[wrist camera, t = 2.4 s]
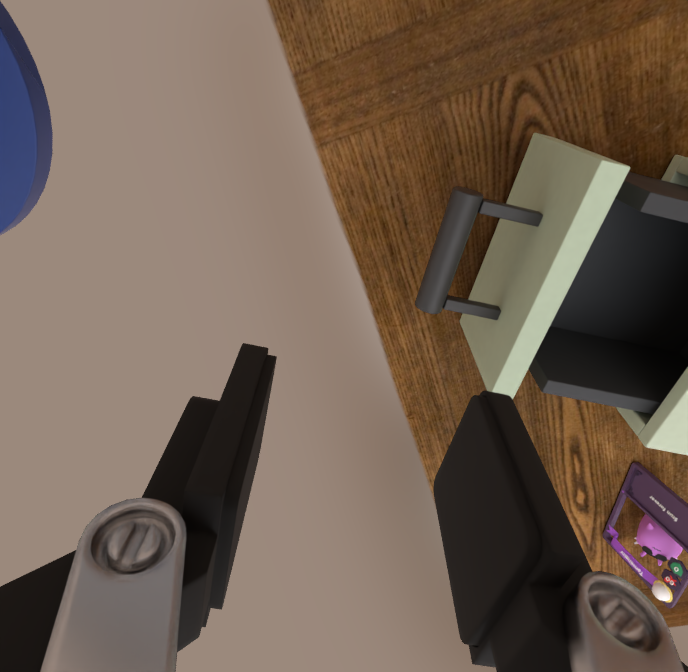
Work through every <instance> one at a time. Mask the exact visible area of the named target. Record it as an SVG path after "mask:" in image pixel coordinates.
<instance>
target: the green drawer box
mask: <svg viewBox="0 0 688 672" xmlns="http://www.w3.org/2000/svg"><path fill="white" fill-rule="evenodd" d="M661 180H663V181H667V182H671V183H675V184H679V185H683V186H687V187H688V157H684V156H680V155H674V157H673V159H672V161H671V163H670V165H669V166H668V168H667V170H666V172H665V174H664V176H663V177H662V179H661ZM616 408H617V410H618V411H619V412H620V414H621V415H622V416H623V418H624V419H625V420H626V422H627V423H628V424H629V426H630V427H631V428H632V430H633V431H634V432H635V434H636V435H637V436H638V438H639V439H640V441H641V442H642V443H643V444H644V446H645V447H647V448H653V449H658V450H663V451H668V452H674V453H679V454H684V455H688V367H687V369H686V370H685V371H684V373H683V374H682V375H681V377H680V378H679V380H678V381H677V382H676V384H675V385H674V387H673V388H672V389H671V391H670V392H669V394H668V395H667V396H666V398H665V399H664V401H663V402H662V403H661V405H660V406H659V408H658V409H657V410H656V412H655V413H654V414H649V413H644V412H639V411H634V410H629V409H624V408H619V407H616Z"/></svg>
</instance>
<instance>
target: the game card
mask: <svg viewBox="0 0 688 672" xmlns="http://www.w3.org/2000/svg"><path fill="white" fill-rule="evenodd" d="M626 497H629V498H630V499H631V500H632V501H633V502H634V503H635V504H636V505H637V506H638V507H639V508H640V509H641V510H642V511H644V512H645V513H646V514H645V515H644V516H643V518H642V520H641V522H640V524H639V527H638V531H637V537H636V538H634V539H637V541H636V542H635V543H634V544H640V545H641V546H642V549H643V551H642V553H641V554H640V556H644V555H646V554H649V555H650V556H652V557H654V558H656V559H658V565H659V566H661V564H662V561H667V559H669V562H668V566H669V568H670V569H671V571H672V572H671V571H669V570H667V569H664V571H663V573H662V575H661V576H662V578H663V580H664V582H665V583H666V584H665V583H664V582H662V581H660V580H658V579H657V578H656V577H655V576H653V575H652V574H651V573H650V572H649V571H647V570H646V569H645V568H644V567H643V566H642V565H641V564H640V563H639V562H638V561H637V560H636V559H635V558H634V557H633V556H632V555H631V554H630V553H629V552H628V551H627V550H626V549H625V548H624V547H623V546H622V545H621V544H620V543H619V542H618V541H617V537H618V533H617V532H616V531H615V530H614V529H613V528H614V525H615V523H616V521H617V518H618V516H619V514H620V511H621V509H622V507H623V504H624V502H625V500H626ZM610 535H612V536H613V538H612V537H611V536H610ZM603 538H604V539H605V540H606V541H607V543H608V544H609V545H610V546H611V547H612V548H613V549H614V550H615V551H616V552H617V553H618V554H619V555H620V557H621V558H622V559H623V560H624V561H625V562H626V563H627V564H628V565H629V566H630V567H631V568H632V570H633V571H634V572H635V573H636V574H637V575H638V576H639V577H640V578H641V579H642V580H643V581H644V582H645V584H646V585H647V586H648V587H649V588H650V589H651V590H652V592H653V594H654V595H655V597H656V598H658V599H659V600H661V601H662V602H663V603H664V604H665V605H666V606H667V607H668V608H672V607H674V606H675V605H676V603H677V601H678V600H679V598H680V596H681V595H682V593H683V591H684V590H685V588H686V586H687V585H688V570H686V568H685V566H684V564H683V563H682V561H680V560H677V557H678V555H679V554H680V553H681V552H682V549H684V550H685V551H686V552H687V553H688V504H687V503H686V502H685V501H684V500H683V499H682V498H680V497H679V495H677V494H676V493H674V492H673V491H672V490H671V489H670V488H668V487H667V486H666V485H665V484H664V483H662V482H661V481H660V480H659V479H658V478H657V477H655V476H654V475H653V474H652V473H651V472H649V471H648V470H647V469H646V468H645V467H643V466H642V465H641V464H640V463H639V462H635V463H632V465H631V467H630V470H629V472H628V475H627V477H626V480H625V482H624V484H623V487H622V489H621V492H620V494H619V496H618V499H617V501H616V504H615V506H614V509H613V511H612V513H611V516H610V518H609V521H608V523H607V525H606V528H605V530H604V533H603ZM677 577H679V578H681V579H682V581H681V582H680V581H679V579H678V578H677ZM669 588H671V589H673V590H675V592H674V594H673V596H672V591H671V590H670V589H669Z"/></svg>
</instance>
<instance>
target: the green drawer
mask: <svg viewBox="0 0 688 672" xmlns="http://www.w3.org/2000/svg"><path fill="white" fill-rule="evenodd" d="M629 170H630V166H628V165H625V164H622V163H620V162H617V161H615V160H612V159H609V158H607V157H604V156H601V155H599V154H596V153H594V152H591V151H588V150H586V149H583V148H581V147H578V146H575V145H573V144H570V143H568V142H565V141H562V140H560V139H557V138H554V137H550V136H546V135H542V134H539V133H534V134H533V136H532V139H531V141H530V144H529V146H528V149H527V151H526V154H525V156H524V159H523V161H522V164H521V167H520V169H519V172H518V174H517V177H516V179H515V182H514V184H513V187H512V189H511V192H510V194H509V197H508V199H507V202H506V203H502V202H497V201H493V200H489V199H485V198H483V194H481V193H480V192H477V191H475V190H472V189H469V188H465V187H459V186H456V187H454V188H453V190H452V193H451V196H450V199H449V202H448V205H447V208H446V211H445V214H444V217H443V220H442V223H441V226H440V229H439V232H438V235H437V238H436V241H435V244H434V247H433V250H432V253H431V256H430V259H429V262H428V265H427V268H426V271H425V274H424V277H423V280H422V283H421V286H420V289H419V292H418V295H417V298H416V301H415V305H416V307H417V308H418V309H420V310H422V311H424V312H427V313H431V314H438V313H440V312H441V311H442V308H443V309H445V310H450V311H455V312H460V313H463V314H462V316H461V319H460V324H461V326H462V329H463V331H464V334H465V336H466V339H467V341H468V344H469V346H470V349H471V351H472V354H473V356H474V359H475V361H476V364H477V366H478V369H479V371H480V374H481V376H482V379H483V381H484V384H485V386H486V389H487V391H490V392H495V393H500V394H505V395H509V396H510V397H511V398H512V400H513V398H514V396H515V394H516V392H517V390H518V388H519V386H520V384H521V382H522V380H523V378H524V376H525V374H526V372H527V370H528V369H529V370H530V372H531V374H532V376H533V377H534V379H535V381H536V383H537V384H538V386H539V388H540V390H541V392H543V393H548V394H553V395H558V396H563V397H568V398H573V399H578V400H583V401H588V402H594V403H599V404H604V405H609V406H614V407H619V408H624V409H629V410H634V411H639V412H644V413H649V414H654V413H655V412H656V410H657V409H658V408H659V406H660V405H661V403H662V402H663V401H664V399H665V398H666V396H667V395H668V394H669V392H670V391H671V389H672V388H673V387H674V385H675V384H676V382H677V381H678V380H679V378H680V377H681V375H682V374H683V373H684V371H685V370H686V369H687V367H688V187H687V186H683V185H679V184H675V183H671V182H667V181H663V180H659V179H655V178H651V177H647V176H643V175H639V174H635V173H631V172H629ZM478 212H479V213H480V214H484V215H488V216H493V217H497V218H500V220H499V222H498V225H497V227H496V230H495V232H494V235H493V238H492V240H491V243H490V245H489V248H488V250H487V253H486V255H485V258H484V260H483V263H482V265H481V268H480V270H479V273H478V276H477V278H476V281H475V283H474V286H473V288H472V291H471V293H470V296H469V298H468V299H463V298H459V297H454V296H449V295H447V294H448V292H449V289H450V286H451V284H452V281H453V278H454V275H455V273H456V270H457V267H458V265H459V262H460V259H461V256H462V254H463V251H464V248H465V245H466V243H467V240H468V237H469V235H470V232H471V229H472V226H473V224H474V221H475V218H476V216H477V213H478Z"/></svg>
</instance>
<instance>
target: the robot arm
mask: <svg viewBox="0 0 688 672" xmlns="http://www.w3.org/2000/svg"><path fill="white" fill-rule="evenodd" d="M275 364H276V356H271V355H268V348H265V347H260V346H255V345H250V344H244V343H243V344H242V346H241V349H240V351H239V354H238V357H237V359H236V361H235V364H234V366H233V369H232V372H231V374H230V377H229V379H228V382H227V384H226V387H225V389H224V392H223V394H222V397H221V399H220V401H217V400H212V399H206V398H201V397H195V396H193V397H192V398H191V399H190V400H189V402H188V404H187V406H186V408H185V410H184V412H183V414H182V416H181V418H180V421H179V422H178V425H177V427H176V429H175V431H174V433H173V435H172V437H171V439H170V441H169V443H168V445H167V447H166V449H165V451H164V453H163V455H162V457H161V459H160V461H159V464H158V465H157V467H156V470H155V472H154V474H153V476H152V478H151V480H150V482H149V484H148V486H147V488H146V490H145V492H144V494H143V496H142V498H136V499H130V500H125V501H122V502H119V503H117V504H114V505H111V506H109V507H108V508H107V509H105V510H103V511H102V512H100V513H99V514H97V515H96V516H95V517H94V519H93V520H92V521H91V522H90V523H89V524H88V525H87V526H86V528H85V530H84V532H83V534H82V536H81V538H80V540H79V543H78V546H77V550H75V551H73V552H71V553H69V554H67V555H65V556H63V557H61V558H59V559H57V560H55V561H53V562H51V563H48V564H46V565H44V566H42V567H40V568H38V569H36V570H34V571H32V572H30V573H28V574H26V575H24V576H22V577H20V578H17V579H15V580H13V581H11V582H9V583H7V584H5V585H3V586H1V587H0V672H175V671H176V659H177V652H178V651H180V650H181V649H183V648H184V647H185V646H187V645H188V644H190V643H191V642H192V641H194V640H195V639H197V638H198V637H199V635H200V631H201V628H202V627H206V623H207V619H208V616H209V612H210V608H215V609H222V607H223V603H224V598H225V595H226V591H227V586H228V582H229V578H230V574H231V570H232V566H233V562H234V557H235V553H236V549H237V545H238V541H239V536H240V533H241V528H242V524H243V520H244V516H245V512H246V508H247V504H248V500H249V495H250V491H251V486H252V483H253V479H254V475H255V471H256V466H257V462H258V458H259V453H260V448H261V443H262V437H263V431H264V425H265V420H266V414H267V409H268V403H269V398H270V391H271V386H272V381H273V375H274V369H275ZM434 498H435V503H436V509H437V514H438V519H439V525H440V530H441V536H442V541H443V547H444V552H445V558H446V562H447V568H448V574H449V579H450V585H451V590H452V596H453V601H454V607H455V612H456V617H457V623H458V628H459V634H460V638H461V640H462V642H463V643H464V644H468V645H469V649H470V653H471V659H472V664H475V665H483V666H490V667H496V670H497V672H688V666H686V665H685V664H684V663H683V662H681V661H680V658H679V655H678V653H677V650H676V647H675V644H674V641H673V639H672V636H671V633H670V630H669V628H668V626H667V624H666V622H665V620H664V618H663V616H662V615H661V613H660V612H659V611H658V609H657V608H656V607H655V605H654V604H653V603H652V602H651V601H650V600H649V599H648V598H647V597H646V596H645V595H644V594H643V593H642V592H641V591H640V590H639V589H638V588H636V587H635V586H633V585H632V584H630V583H629V582H628V581H626V580H624V579H622V578H620V577H618V576H616V575H614V574H611V573H606V572H602V571H596V572H592V570H591V567H590V565H589V563H588V561H587V559H586V556H585V554H584V552H583V550H582V548H581V546H580V543H579V541H578V539H577V537H576V535H575V533H574V531H573V528H572V526H571V524H570V522H569V520H568V518H567V516H566V513H565V511H564V509H563V507H562V505H561V503H560V501H559V498H558V496H557V494H556V492H555V490H554V488H553V486H552V483H551V481H550V479H549V477H548V475H547V473H546V470H545V468H544V466H543V464H542V462H541V460H540V458H539V455H538V453H537V451H536V449H535V447H534V445H533V443H532V440H531V438H530V436H529V434H528V432H527V430H526V428H525V425H524V423H523V421H522V419H521V417H520V415H519V413H518V410H517V408H516V406H515V404H514V402H513V400H512V398H511V397H510V396H509V395H505V394H500V393H495V392H490V391H483V392H482V393H481V394H480V395H479V396H477V395H474V396H473V397H472V398H471V400H470V402H469V404H468V406H467V408H466V411H465V413H464V415H463V417H462V419H461V422H460V424H459V426H458V428H457V431H456V433H455V435H454V437H453V439H452V442H451V444H450V446H449V448H448V450H447V453H446V455H445V457H444V459H443V462H442V464H441V466H440V468H439V470H438V473H437V475H436V477H435V481H434Z"/></svg>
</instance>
